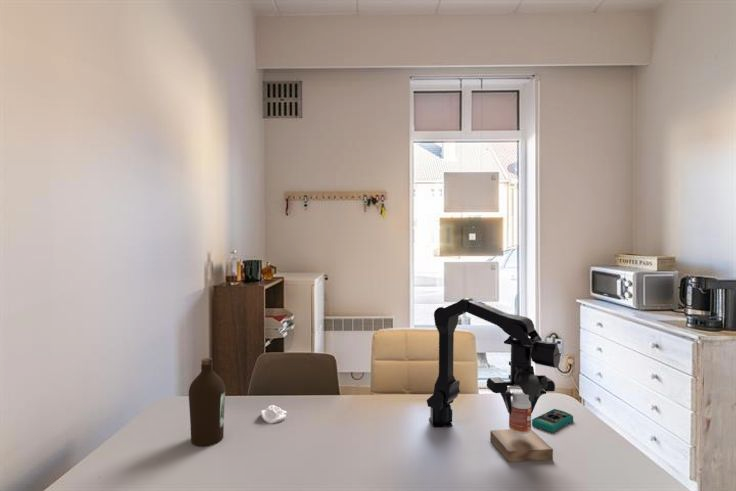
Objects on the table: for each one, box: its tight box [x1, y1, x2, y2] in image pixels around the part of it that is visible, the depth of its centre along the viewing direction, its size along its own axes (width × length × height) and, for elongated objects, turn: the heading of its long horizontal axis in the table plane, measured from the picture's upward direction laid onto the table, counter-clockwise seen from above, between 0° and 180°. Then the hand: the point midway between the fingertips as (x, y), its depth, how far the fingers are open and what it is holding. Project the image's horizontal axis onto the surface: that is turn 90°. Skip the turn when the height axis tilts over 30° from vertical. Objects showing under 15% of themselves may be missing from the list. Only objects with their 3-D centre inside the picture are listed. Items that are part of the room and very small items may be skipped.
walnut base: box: [489, 428, 554, 463], centre depth 126 cm, size 13×13×3 cm
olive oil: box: [188, 357, 226, 447], centre depth 132 cm, size 11×11×25 cm
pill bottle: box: [508, 389, 532, 434], centre depth 126 cm, size 6×6×11 cm
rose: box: [260, 404, 288, 424], centre depth 148 cm, size 10×4×10 cm
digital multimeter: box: [531, 408, 574, 433], centre depth 144 cm, size 7×15×3 cm, turn 128°
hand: (520, 413), depth 126 cm, fingers closed on pill bottle, 6 cm apart
